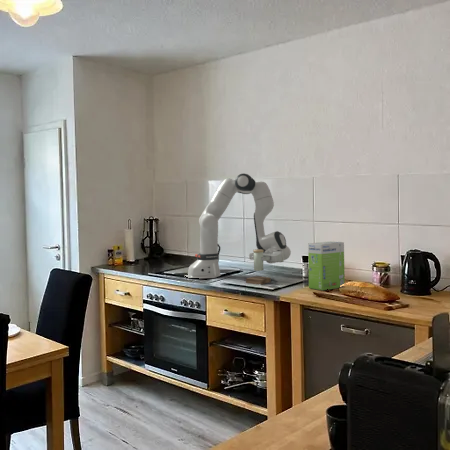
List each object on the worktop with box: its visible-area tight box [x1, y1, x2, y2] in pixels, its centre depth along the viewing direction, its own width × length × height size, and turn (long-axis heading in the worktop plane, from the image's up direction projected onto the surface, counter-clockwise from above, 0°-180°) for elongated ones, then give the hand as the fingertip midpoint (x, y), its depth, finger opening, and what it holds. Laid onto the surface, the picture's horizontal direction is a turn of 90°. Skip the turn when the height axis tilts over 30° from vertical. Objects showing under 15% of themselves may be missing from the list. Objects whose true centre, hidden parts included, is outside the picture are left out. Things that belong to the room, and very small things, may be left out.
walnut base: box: [245, 275, 272, 285], centre depth 294 cm, size 10×10×2 cm
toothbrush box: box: [307, 241, 346, 291], centre depth 273 cm, size 18×10×24 cm, turn 126°
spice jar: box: [252, 248, 264, 272], centre depth 293 cm, size 6×6×12 cm
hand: (257, 258), depth 292 cm, fingers closed on spice jar, 5 cm apart
